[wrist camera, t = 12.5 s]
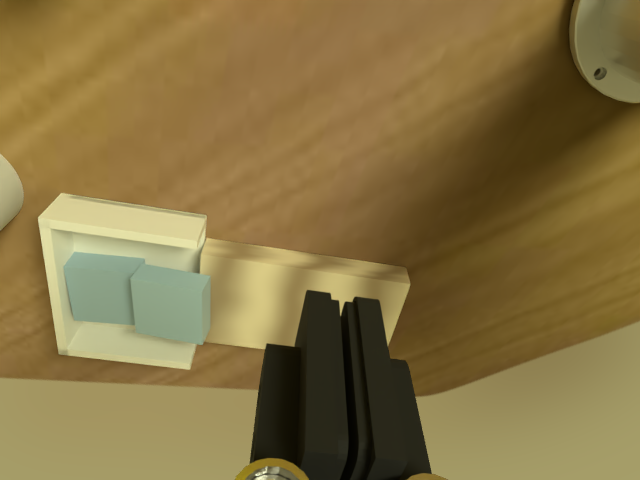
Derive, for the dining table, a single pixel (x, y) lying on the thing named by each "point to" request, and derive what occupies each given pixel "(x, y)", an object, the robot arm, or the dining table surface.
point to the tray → (120, 240)
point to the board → (287, 290)
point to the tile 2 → (171, 303)
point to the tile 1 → (101, 287)
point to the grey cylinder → (9, 193)
